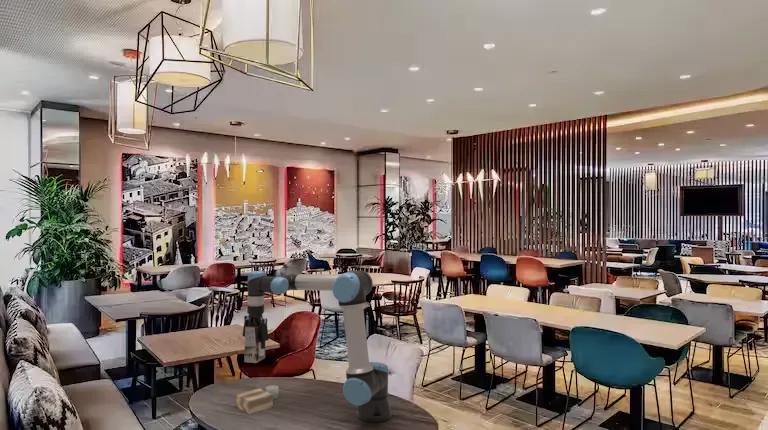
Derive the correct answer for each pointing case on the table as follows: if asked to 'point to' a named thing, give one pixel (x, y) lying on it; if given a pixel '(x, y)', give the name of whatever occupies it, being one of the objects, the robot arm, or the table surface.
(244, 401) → the maple block
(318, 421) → the table surface
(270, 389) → the white rounded dome
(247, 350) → the coffee box
